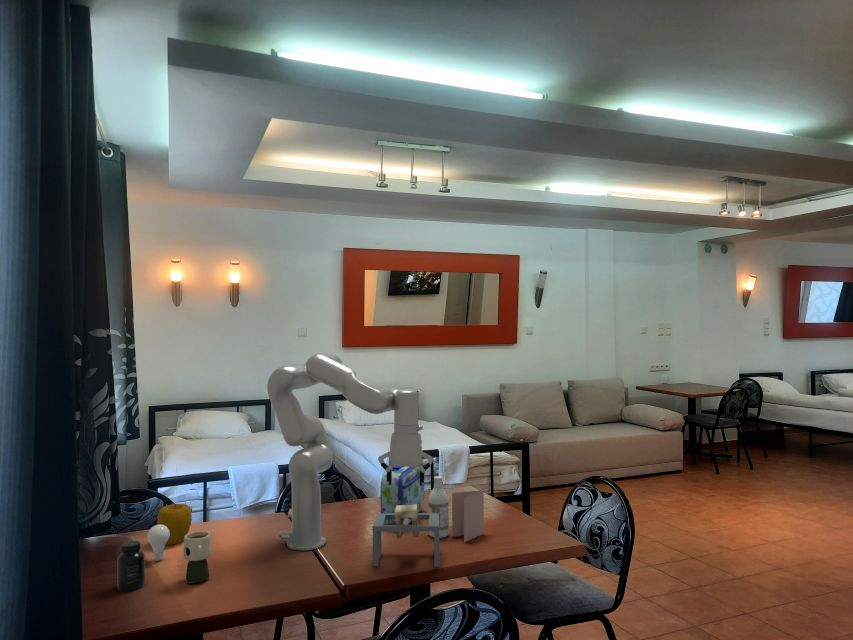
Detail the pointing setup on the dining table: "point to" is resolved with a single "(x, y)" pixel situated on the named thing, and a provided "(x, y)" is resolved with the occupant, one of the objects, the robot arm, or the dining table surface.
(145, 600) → the dining table surface
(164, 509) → the apple
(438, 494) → the bath foam
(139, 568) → the supplement bottle
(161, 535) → the lightbulb
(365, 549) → the dining table surface
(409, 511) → the birch clip
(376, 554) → the shelf stand
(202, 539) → the character mug
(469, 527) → the greeting card
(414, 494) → the lunch box
